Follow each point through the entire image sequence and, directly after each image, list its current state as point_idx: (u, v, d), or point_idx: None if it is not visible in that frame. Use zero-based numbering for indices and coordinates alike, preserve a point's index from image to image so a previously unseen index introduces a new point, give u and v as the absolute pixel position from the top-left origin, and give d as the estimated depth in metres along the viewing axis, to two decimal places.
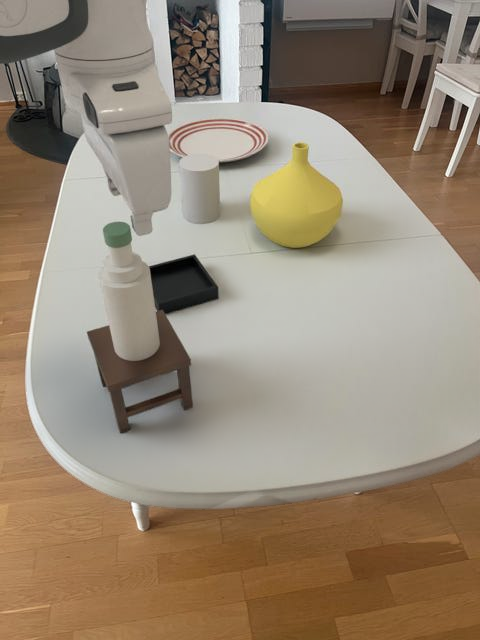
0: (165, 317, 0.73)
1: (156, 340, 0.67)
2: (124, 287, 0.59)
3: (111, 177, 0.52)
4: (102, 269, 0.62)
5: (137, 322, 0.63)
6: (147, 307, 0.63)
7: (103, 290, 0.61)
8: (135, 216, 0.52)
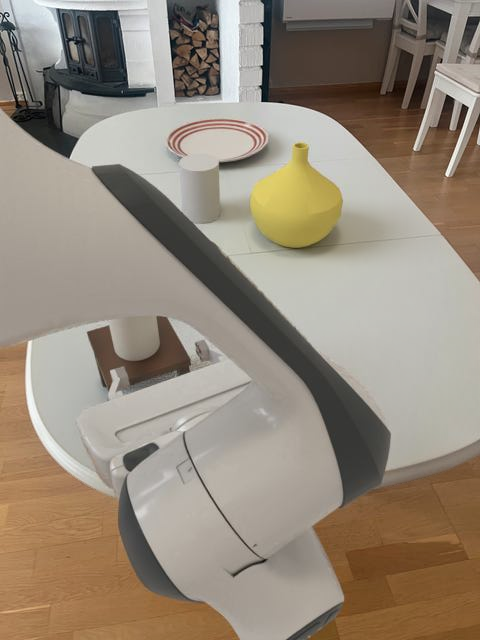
0: (165, 317, 0.73)
1: (156, 340, 0.67)
2: None
3: (154, 389, 0.50)
4: None
5: (137, 322, 0.63)
6: None
7: None
8: (110, 389, 0.51)
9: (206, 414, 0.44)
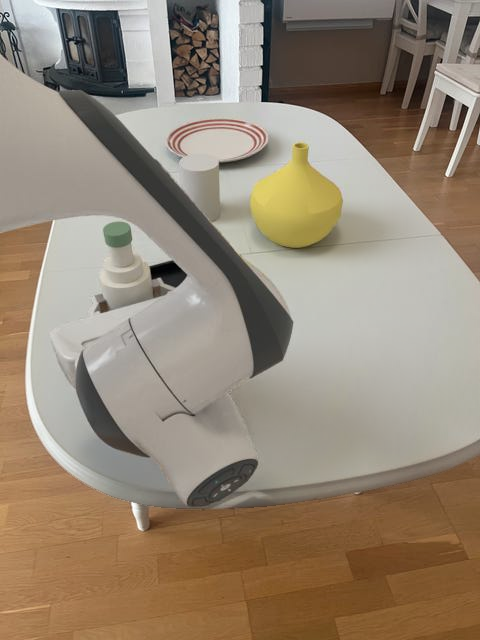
0: None
1: None
2: (125, 287, 0.59)
3: (117, 311, 0.59)
4: (102, 269, 0.62)
5: None
6: None
7: (103, 290, 0.61)
8: (89, 310, 0.60)
9: None
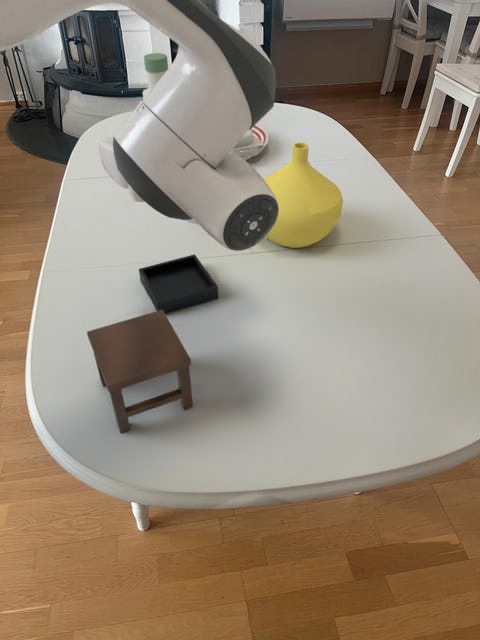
0: (165, 317, 0.73)
1: None
2: None
3: None
4: None
5: None
6: None
7: None
8: None
9: None
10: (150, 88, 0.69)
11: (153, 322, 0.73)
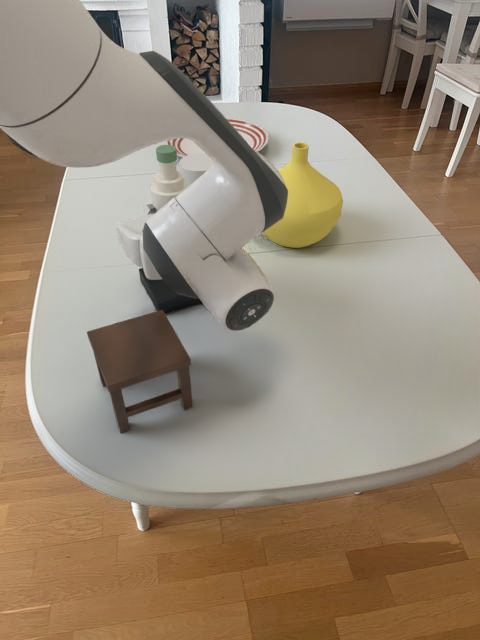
0: (165, 317, 0.73)
1: None
2: (171, 194, 0.79)
3: None
4: (152, 184, 0.81)
5: None
6: None
7: (154, 199, 0.80)
8: (144, 213, 0.79)
9: None
10: (161, 174, 0.79)
11: (153, 322, 0.73)
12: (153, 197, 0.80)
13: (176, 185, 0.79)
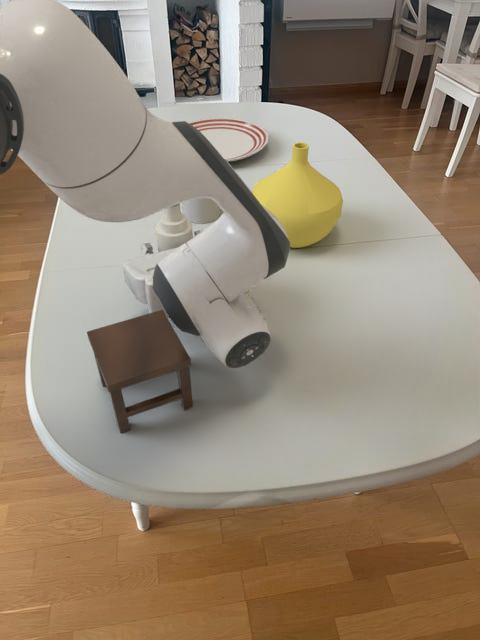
0: (165, 317, 0.73)
1: None
2: (175, 235, 0.83)
3: (169, 251, 0.83)
4: (157, 224, 0.86)
5: None
6: None
7: (159, 239, 0.85)
8: (141, 253, 0.84)
9: None
10: (166, 217, 0.83)
11: (153, 322, 0.73)
12: (158, 237, 0.85)
13: (180, 226, 0.84)
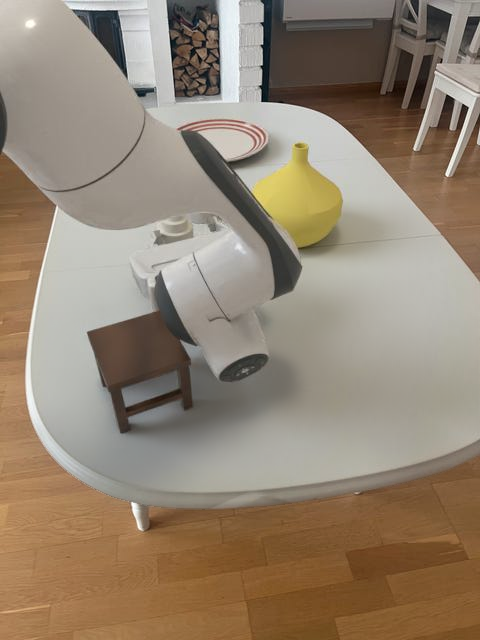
0: None
1: None
2: (176, 235, 0.83)
3: (177, 243, 0.79)
4: (158, 224, 0.86)
5: None
6: None
7: None
8: (150, 243, 0.81)
9: None
10: None
11: (153, 322, 0.73)
12: None
13: (181, 226, 0.84)
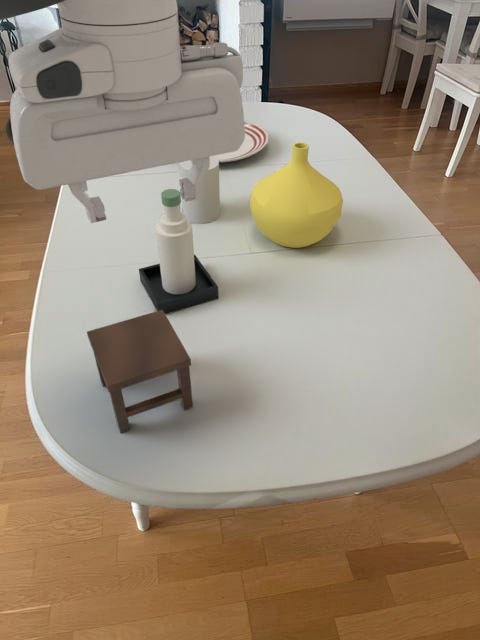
0: (165, 317, 0.73)
1: (193, 279, 0.92)
2: (175, 235, 0.83)
3: None
4: (157, 224, 0.86)
5: (182, 263, 0.87)
6: (189, 252, 0.87)
7: (159, 239, 0.85)
8: None
9: None
10: (166, 217, 0.83)
11: (153, 322, 0.73)
12: (158, 237, 0.85)
13: (180, 226, 0.84)
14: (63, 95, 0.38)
